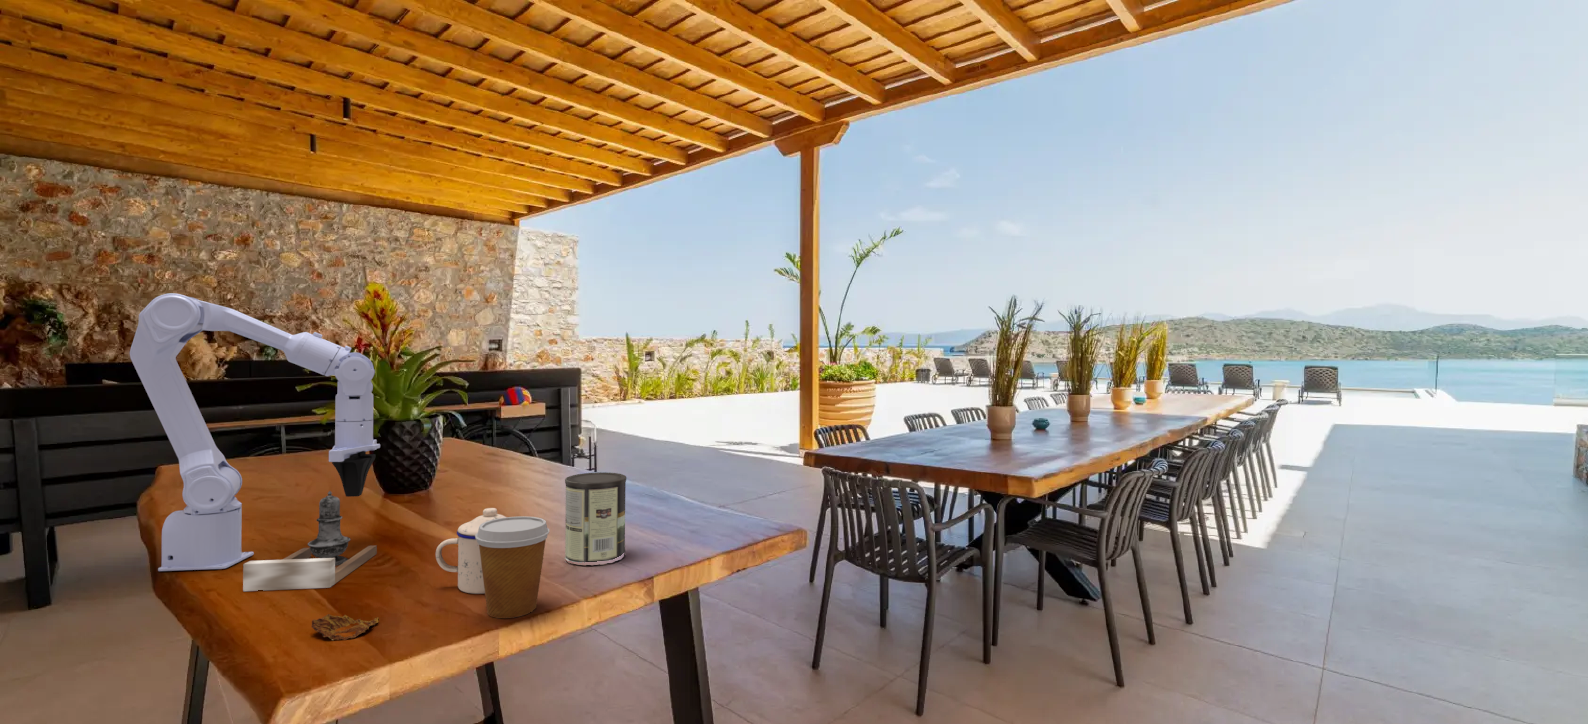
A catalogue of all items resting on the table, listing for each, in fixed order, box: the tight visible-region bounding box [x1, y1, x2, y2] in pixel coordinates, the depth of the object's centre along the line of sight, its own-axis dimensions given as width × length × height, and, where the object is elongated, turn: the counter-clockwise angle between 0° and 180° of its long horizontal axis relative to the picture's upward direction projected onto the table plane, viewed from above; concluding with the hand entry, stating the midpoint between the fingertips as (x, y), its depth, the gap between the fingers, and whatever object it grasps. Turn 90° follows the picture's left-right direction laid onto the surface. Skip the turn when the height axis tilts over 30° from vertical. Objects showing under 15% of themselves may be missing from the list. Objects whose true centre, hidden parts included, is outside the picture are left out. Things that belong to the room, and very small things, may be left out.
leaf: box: [311, 613, 380, 641], centre depth 86 cm, size 6×7×2 cm
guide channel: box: [242, 544, 378, 592], centre depth 108 cm, size 11×17×4 cm
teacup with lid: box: [435, 507, 507, 595], centre depth 103 cm, size 12×9×12 cm
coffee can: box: [564, 471, 627, 563], centre depth 118 cm, size 10×10×14 cm
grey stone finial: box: [307, 490, 351, 567], centre depth 113 cm, size 6×6×12 cm
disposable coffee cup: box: [475, 515, 550, 619], centre depth 94 cm, size 10×10×12 cm
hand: (353, 495), depth 121 cm, fingers closed
